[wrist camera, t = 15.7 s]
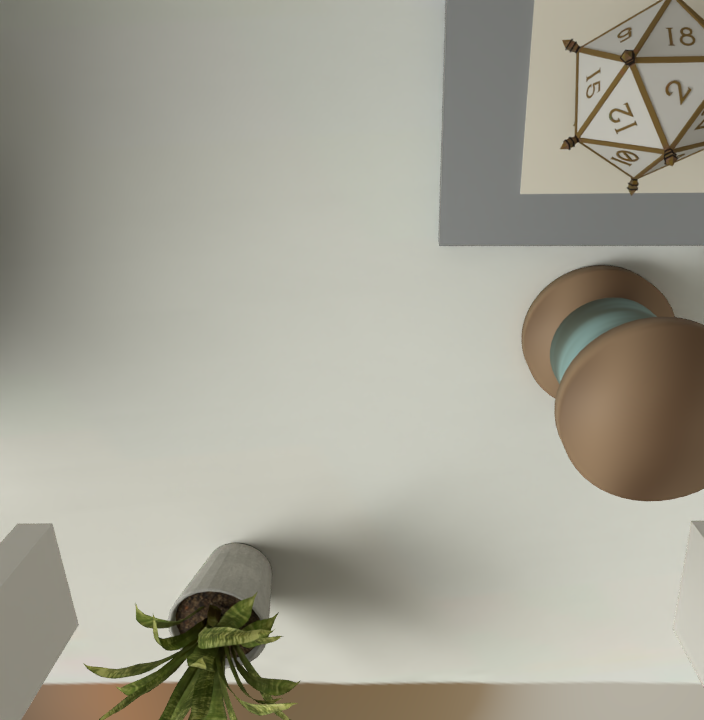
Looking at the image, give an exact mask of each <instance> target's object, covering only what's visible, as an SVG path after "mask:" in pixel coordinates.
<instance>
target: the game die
mask: <svg viewBox="0 0 704 720" xmlns="http://www.w3.org/2000/svg"><path fill="white" fill-rule="evenodd" d="M562 41H563V44H564V46H565V48H566V49H565V50H569V51H570V53H571V52H575V53H576V88H575V122H574V125H573V126H575V135H574V137H569V138H568V139H567V140H566V139H565V140H564V141H563V144H562V146H561V148H560V149H568V150H571V148H572V147H575V145H576V143H580V144H581V145H583V146H584V147H586V148H587V149H589V150H590V151H592V152H593V153H595V154H596V155H598V156H599V157H601V158H602V159H604V160H605V161H607V162H608V163H610V164H611V165H613V166H614V167H616V168H617V169H619V170H620V171H622V172H623V173H625V174H626V175H628V176H629V177H631V180H630V182H629V183H628V184H629V185H628V187H627V189H628V190H629V192H630V195H631V196H632V195H633V194H634V193H635V191H636V190H638V187H637V186H638V185H639V183H638V179H639V178H642V177H644V176H646V175H648V174H651V173H653V172H655V171H657V170H660V169H662V168H664V167H666V166H669V165H670V166H673V165H674V163H676V162H678V161H680V160H682V159H685V158H687V157H689V156H691V155H694V154H696V153H698V152H701V151H703V150H704V19H703V18H702V17H701V16H699V15H698V14H697V13H696V12H695V11H694V10H693V9H692V8H691V7H689V6H688V5H687V4H686V3H685V2H684V1H683V0H659V1H657V2H656V3H654V4H652V5H651V6H649V7H647V8H645V9H644V10H642V11H640V12H639V13H637V14H635V15H634V16H632V17H630V18H628V19H627V20H625V21H623V22H622V23H620V24H618V25H617V26H615V27H613V28H611V29H610V30H608V31H606V32H605V33H603V34H601V35H600V36H598V37H596V38H594V39H593V40H591V41H589V42H588V43H586V44H584V45H583V46H579V45H578V44H577V41H576V42H575V41H573V39H571V40H562Z"/></svg>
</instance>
